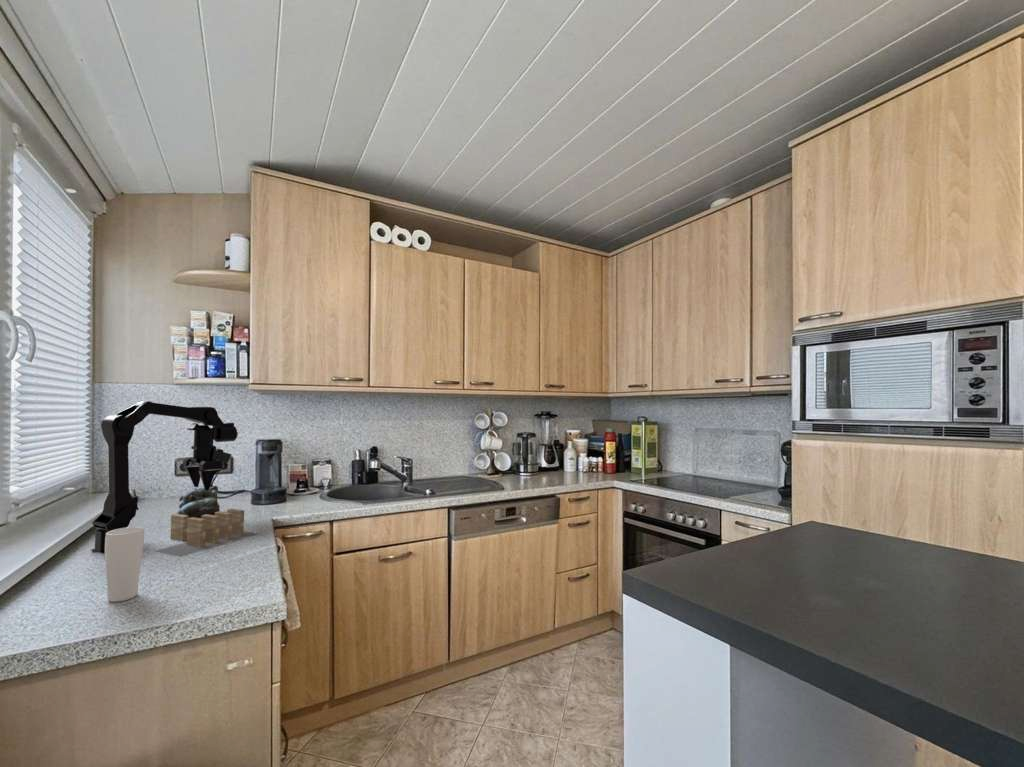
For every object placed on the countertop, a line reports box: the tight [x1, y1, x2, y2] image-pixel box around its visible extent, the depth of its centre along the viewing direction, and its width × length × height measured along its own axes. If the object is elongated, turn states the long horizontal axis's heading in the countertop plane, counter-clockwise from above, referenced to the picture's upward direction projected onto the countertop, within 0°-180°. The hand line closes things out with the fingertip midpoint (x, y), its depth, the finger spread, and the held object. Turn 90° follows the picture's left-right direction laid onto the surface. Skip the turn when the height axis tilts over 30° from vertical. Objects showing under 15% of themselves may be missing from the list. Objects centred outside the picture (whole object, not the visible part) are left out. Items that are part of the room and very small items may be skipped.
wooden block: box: [215, 510, 232, 540], centre depth 150 cm, size 2×6×8 cm, turn 66°
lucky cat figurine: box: [175, 483, 221, 518], centre depth 178 cm, size 15×12×14 cm
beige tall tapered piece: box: [104, 526, 145, 603], centre depth 106 cm, size 7×7×15 cm
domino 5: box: [226, 508, 245, 536], centre depth 154 cm, size 2×6×8 cm, turn 66°
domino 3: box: [200, 514, 219, 544], centre depth 146 cm, size 2×6×8 cm, turn 66°
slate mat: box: [154, 530, 260, 558], centre depth 146 cm, size 25×12×1 cm, turn 156°
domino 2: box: [186, 517, 206, 548], centre depth 142 cm, size 2×6×8 cm, turn 66°
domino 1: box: [170, 513, 189, 543], centre depth 148 cm, size 2×6×8 cm, turn 66°
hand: (201, 488), depth 162 cm, fingers open, 9 cm apart
